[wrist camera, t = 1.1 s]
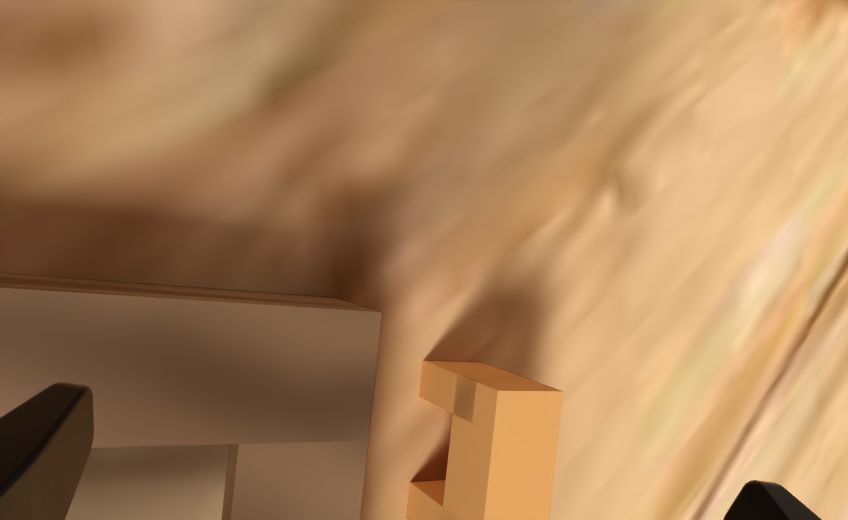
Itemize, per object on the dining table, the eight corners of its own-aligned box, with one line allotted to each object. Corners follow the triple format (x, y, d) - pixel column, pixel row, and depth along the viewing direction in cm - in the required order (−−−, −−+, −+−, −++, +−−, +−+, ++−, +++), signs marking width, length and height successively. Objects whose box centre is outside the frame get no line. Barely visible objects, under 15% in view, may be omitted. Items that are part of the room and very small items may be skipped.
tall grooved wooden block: (464, 513, 32) (543, 571, 27) (406, 517, 31) (477, 580, 26) (480, 362, 32) (563, 391, 27) (423, 360, 31) (498, 390, 26)
